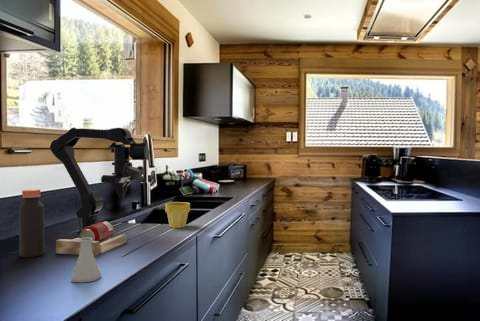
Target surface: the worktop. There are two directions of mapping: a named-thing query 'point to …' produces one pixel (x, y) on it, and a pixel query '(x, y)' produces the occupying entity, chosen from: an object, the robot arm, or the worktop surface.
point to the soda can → (98, 231)
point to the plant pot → (177, 213)
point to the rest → (74, 245)
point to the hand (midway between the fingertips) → (121, 199)
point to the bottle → (31, 224)
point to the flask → (86, 264)
